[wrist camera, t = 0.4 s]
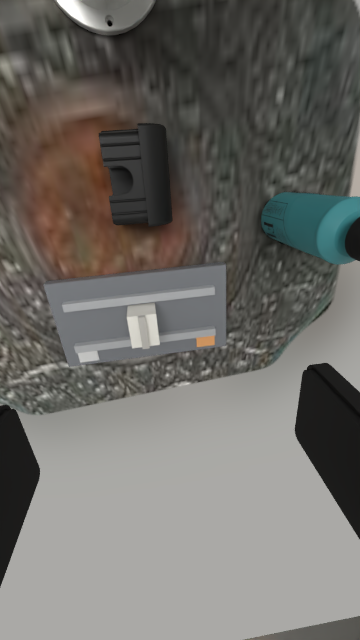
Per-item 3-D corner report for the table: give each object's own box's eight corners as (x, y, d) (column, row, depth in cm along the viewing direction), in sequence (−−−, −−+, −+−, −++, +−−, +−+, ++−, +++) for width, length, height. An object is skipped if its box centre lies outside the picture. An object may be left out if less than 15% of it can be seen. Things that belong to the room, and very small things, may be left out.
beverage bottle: (246, 217, 40) (330, 247, 22) (281, 178, 38) (402, 177, 21) (274, 247, 42) (370, 296, 25) (308, 212, 41) (438, 237, 23)
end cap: (169, 217, 39) (175, 224, 33) (117, 222, 38) (113, 230, 32) (163, 131, 34) (167, 121, 28) (104, 135, 34) (96, 125, 28)
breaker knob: (127, 305, 42) (126, 319, 38) (154, 302, 42) (156, 315, 38) (132, 334, 44) (132, 350, 40) (158, 331, 44) (160, 346, 40)
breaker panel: (46, 281, 40) (41, 287, 38) (223, 262, 42) (227, 266, 40) (70, 361, 47) (67, 370, 45) (223, 341, 49) (227, 348, 47)
